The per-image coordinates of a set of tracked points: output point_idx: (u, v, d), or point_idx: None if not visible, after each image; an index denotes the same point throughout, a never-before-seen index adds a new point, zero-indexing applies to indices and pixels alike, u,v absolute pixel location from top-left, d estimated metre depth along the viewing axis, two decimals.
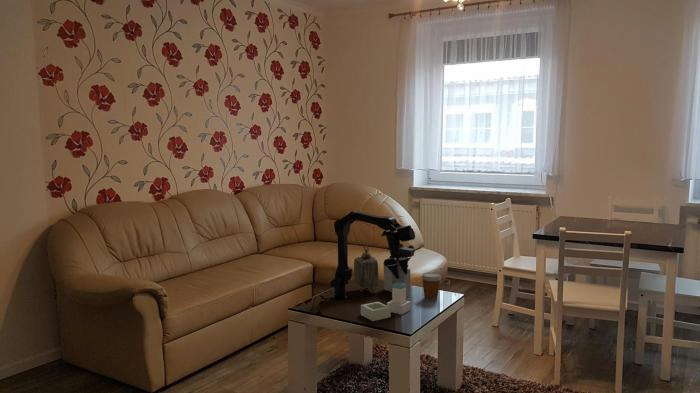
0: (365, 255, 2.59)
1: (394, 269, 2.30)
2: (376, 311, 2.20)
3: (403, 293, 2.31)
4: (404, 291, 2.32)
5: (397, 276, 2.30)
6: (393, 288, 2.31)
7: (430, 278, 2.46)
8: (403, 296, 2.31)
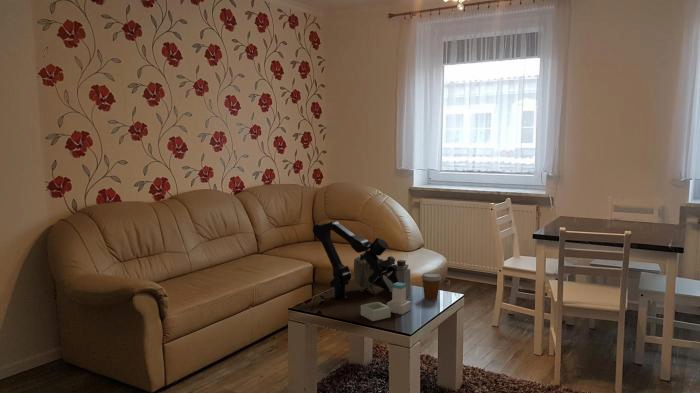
0: None
1: (381, 283, 2.31)
2: (376, 311, 2.20)
3: (403, 293, 2.31)
4: (404, 291, 2.32)
5: (387, 288, 2.30)
6: (393, 288, 2.31)
7: (430, 278, 2.46)
8: (403, 296, 2.31)
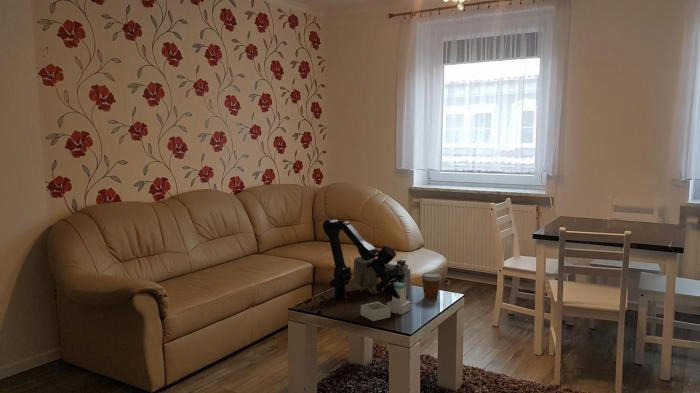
0: None
1: (391, 290, 2.30)
2: (376, 311, 2.20)
3: (403, 293, 2.31)
4: (404, 291, 2.32)
5: (397, 296, 2.30)
6: None
7: (430, 278, 2.46)
8: (403, 296, 2.31)
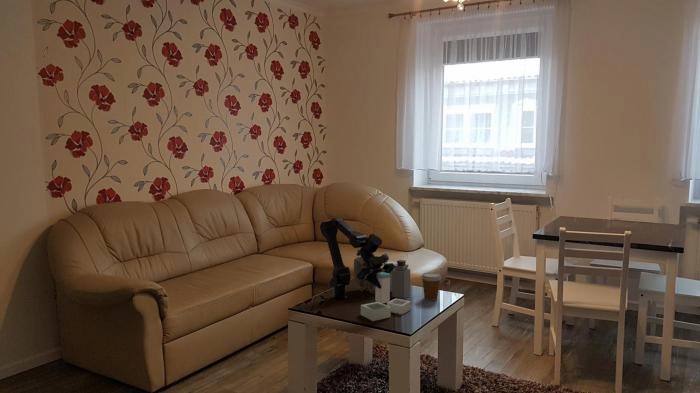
0: None
1: (373, 280, 2.25)
2: (376, 311, 2.20)
3: (385, 283, 2.24)
4: (387, 281, 2.25)
5: (378, 286, 2.24)
6: None
7: (430, 278, 2.46)
8: (385, 286, 2.24)
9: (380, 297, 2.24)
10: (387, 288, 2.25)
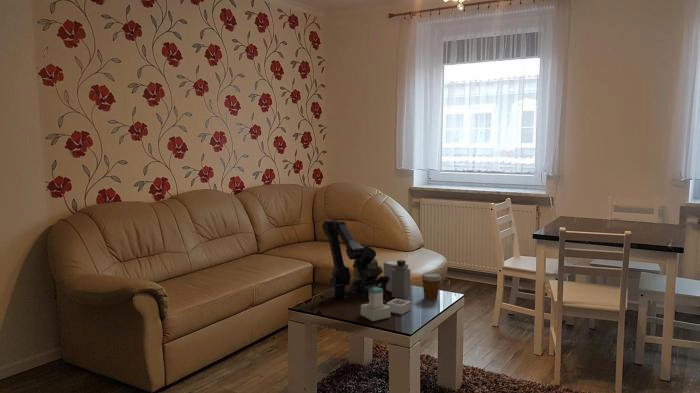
0: None
1: (362, 293, 2.23)
2: (376, 311, 2.20)
3: (378, 299, 2.23)
4: (380, 297, 2.23)
5: (366, 299, 2.22)
6: (369, 292, 2.25)
7: (430, 278, 2.46)
8: (378, 301, 2.23)
9: None
10: (380, 303, 2.24)
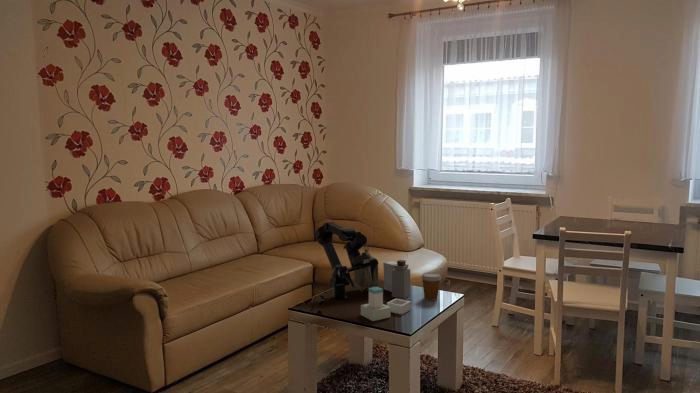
0: None
1: (348, 278, 2.33)
2: (376, 311, 2.20)
3: (378, 299, 2.23)
4: (380, 297, 2.23)
5: (352, 285, 2.32)
6: (369, 292, 2.25)
7: (430, 278, 2.46)
8: (378, 301, 2.23)
9: None
10: (380, 303, 2.24)
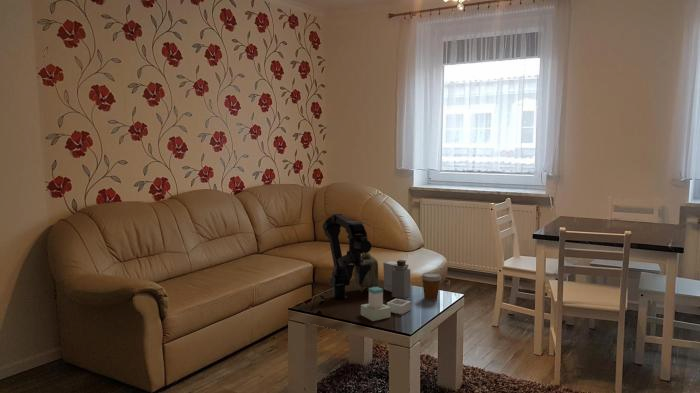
0: (365, 255, 2.59)
1: None
2: (376, 311, 2.20)
3: (378, 299, 2.23)
4: (380, 297, 2.23)
5: None
6: (369, 292, 2.25)
7: (430, 278, 2.46)
8: (378, 301, 2.23)
9: None
10: (380, 303, 2.24)
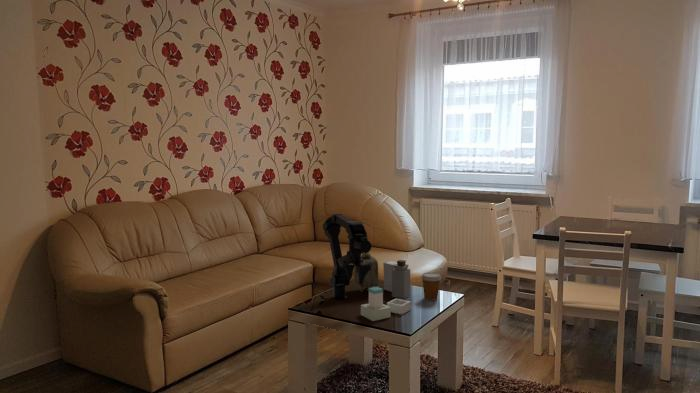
0: (365, 255, 2.59)
1: None
2: (376, 311, 2.20)
3: (378, 299, 2.23)
4: (380, 297, 2.23)
5: None
6: (369, 292, 2.25)
7: (430, 278, 2.46)
8: (378, 301, 2.23)
9: None
10: (380, 303, 2.24)
